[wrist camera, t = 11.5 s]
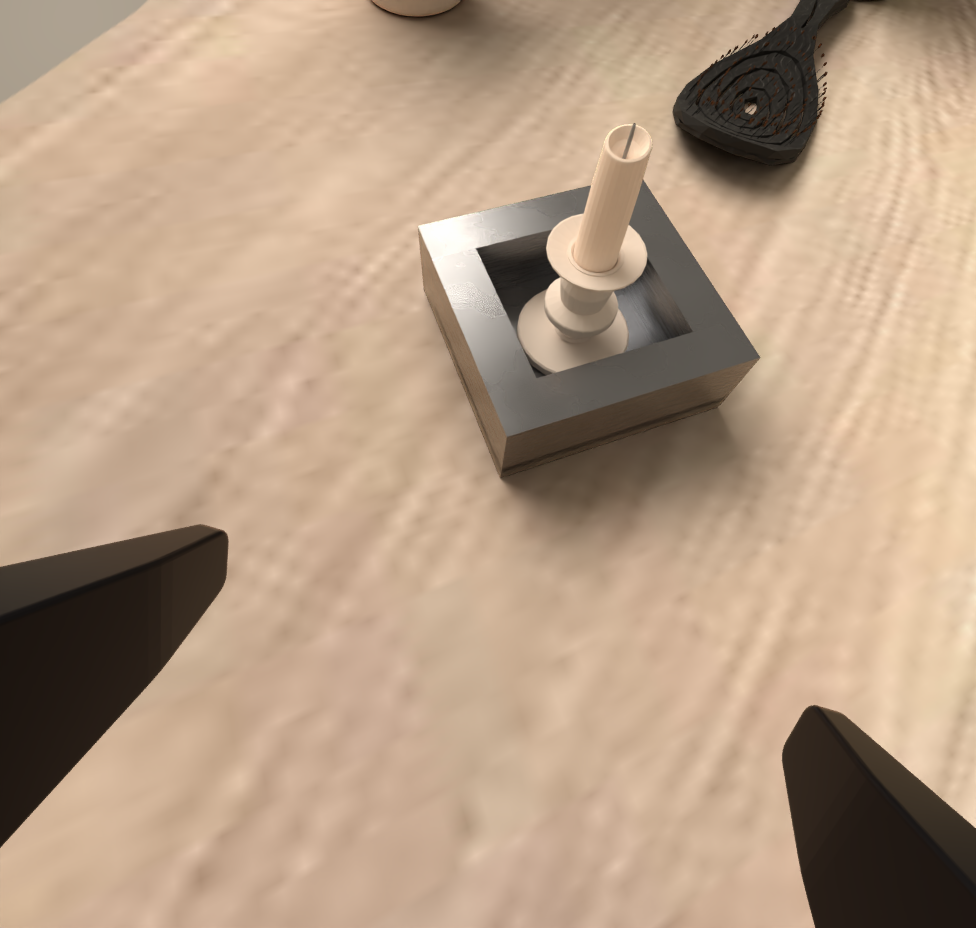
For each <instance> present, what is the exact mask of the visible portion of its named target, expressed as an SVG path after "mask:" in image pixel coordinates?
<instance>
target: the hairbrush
mask: <svg viewBox="0 0 976 928" xmlns="http://www.w3.org/2000/svg"><path fill="white" fill-rule="evenodd" d="M848 1H849V0H800V2H799V4H798V6H797V7H796V9H795V11H794V12H793V14H792V16H791V17H789V18H788V19H787V20H785V21H784V22H783V23H782V24H780V25H779V26H778V27H776V28H775V27H774V28H773V29H772V31H771V32H770V33H769V34H768V32H767V33H766V34H765V37H763V38H762V39H761V40H759V41H757V42H755V43H753V44H751V43H752V42H753V41H752V42H751V43H750V44H751V45H750V44H749V46H747V47H745V48H743V49H742V50H740V49H741V48H742V47H743V46H744V45H743V46H742V47H741V48H740V49H739V50H740V51H738V52H736V53H734V54H733V53H732V54H731V55H730V56H728V57H726V56H727V55H728V54H730V52H731V49H730V50H729V51H728V53H727V55H726V56H725V57H726V58H725V57H724V55H722V56H721V59H722V58H723V57H724V58H723V59H722V60H720V61H718V60H716V61H715V64H711V66H710V67H709V68H708V69H706V70H705V71H704V72H702V73H701V74H700V75H698V76H697V77H696V78H694V79H693V80H692V81H691V82H689V83H688V84H687V85H686V86H685V88H684V89H683V90H682V92H681V93H680V95H679V96H678V97H677V100H676V103H675V105H674V107H673V115H674V119H675V123H676V125H677V126H679V127H680V128H682V129H684V130H685V131H687V132H689V133H690V134H692V135H694V136H695V137H697V138H699V139H701V140H703V141H705V142H707V143H710V144H712V145H714V146H716V147H718V148H720V149H723V150H725V151H727V152H729V153H731V154H734V155H737V156H741V157H744V158H747V159H751V160H754V161H758V162H761V163H764V164H768V165H775V164H782V163H789V162H794V161H795V160H796V159H797V157H798V156H799V154H800V153H801V152H802V150H803V149H804V148H805V146H806V144H807V141H808V139H809V137H810V135H811V133H812V131H813V129H814V127H815V124H816V122H817V119H819V117H820V115H821V112H822V111H823V110H821V111H820V112H819V115H818V116H817V111H819V110H820V109H821V108H822V107H824V102H825V101H824V100H825V99H826V97H824V98H823V101H824V102H823V103H822V104H821V105H822V106H821V107H820V108H819V109H818V110H817V107H818V105H819V104H818V96H819V95H820V94H821V93H820V94H819V95H818V92H819V91H818V85H817V81H818V80H819V79H820V78H821V77H822V78H823V77H824V76H826V75H827V73H828V72H825V73H824V74H823V75H822V76H821V77H820V78H819V79H818V80H817V78H816V73H817V72H818V71H819V70H818V71H817V72H815V65H814V58H813V53H814V47H815V41H816V35H817V31H818V30H819V28H820V27H821V26H822V25H823V24H824V22H825V21H826V20H827V19H828V17H830V16H831V15H833V14H835V13H837V12H839V11H841V10H843V9H844V8H846V7H847V3H848ZM811 12H812V15H813V16H812V18H811V20H810V21H809V22H808V23H807V21H808V19H809V17H810V15H811ZM806 24H807V25H806ZM757 37H758V34H757V35H756V36H755V39H756V38H757ZM753 38H754V35H753V37H752V39H753ZM747 41H748V40H746V41H745V43H747ZM750 41H751V40H750ZM750 41H749V42H750ZM749 42H748V43H749ZM745 43H744V44H745ZM821 45H822V44H821V43H820V45H819V46H818V48H819V47H820V46H821ZM737 48H738V46H737V47H735V49H734V51H735V50H736V49H737ZM734 51H733V52H734ZM824 55H825V54H824V53H823V54H822V56H821V57H823V56H824ZM717 61H718V62H717ZM826 64H827V62H826V63H824V65H823V66H825V65H826ZM822 78H821V79H822ZM821 79H820V80H821ZM715 80H716V81H715ZM820 80H819V81H820ZM714 81H715V82H714ZM819 81H818V82H819ZM713 82H714V83H713ZM712 83H713V84H712ZM733 83H734V84H733ZM732 84H733V85H732ZM826 84H827V83H826V82H825V83H824V84H823V86H825V85H826ZM709 85H710V86H709ZM730 85H732V86H731V87H730V88H729V89H728V90H727V91H726V93H725V94H724V95H723V96H722V97H721V98H720V99H719V101H717V100H718V98H719V97H720V96H721V95H722V93H723V92H724V91H725V90H726V89H727V88H728V87H729V86H730ZM708 86H709V87H708ZM823 86H822V87H823ZM707 87H708V88H707ZM822 87H821V88H822ZM706 88H707V89H706ZM821 88H820V89H821ZM705 89H706V90H705ZM820 89H819V90H820ZM826 89H827V88H824V92H823V93H822V95H824V94H825V92H826ZM704 90H705V91H704ZM702 93H703V95H702V97H701V99H700V101H699V103H698V106H697V105H696V104H695V102H696V101H697V99H698V98H699V97H700V95H701V94H702ZM740 94H743V95H741V96H740V97H739V98H738V99H737V100H736V101H735V103H734V106H733V109H732V111H731V110H730V109H729V107H730V105H732V103H733V101H734V100H735V99H736V98H737V97H738V96H739V95H740ZM822 95H821V96H822ZM821 96H820V97H821ZM820 97H819V98H820ZM786 99H787V103H786ZM716 101H717V102H716ZM748 102H750V104H748V107H749V106H750V105H751V103H755V104H756V105H757V109H756V111H755V113H754V114H752V115H751V114H748V113H749V112H750V111H751V110H752V109H753V108H754V107H755V106H756V105H755V106H754V107H753V108H752V109H751V110H750V111H749V112H748V113H745V112H744V111H745V110H746V109H747V108H748V107H747V108H746V109H745V110H744V105H745V104H746V103H748ZM717 104H718V105H717ZM785 104H786V105H785ZM715 105H717V109H716V110H715V108H714V107H715ZM802 105H803V109H802ZM785 106H786V107H785ZM785 110H786V116H785V119H784V122H783V125H782V126H781V127H780V130H779V132H778V133H777V134H776V135H774V136H773V134H775V132H776V129H777V127H778V125H779V123H780V121H781V119H782V117H783V113H784V112H785ZM768 111H769V112H770V113H769V118H768V120H766V121H765V124H764V125H763V126H761V125H762V124H763V121H764V119H765V118H766V115H767V113H768ZM802 112H803V117H802V122H801V125H800V128H799V131H798V133H797V134H796V135H795V136H794V137H792V138H791V136H792V135H793V134H794V133H795V132H797V130H795V129H796V128H797V126H798V124H799V122H800V120H801V113H802ZM790 138H791V139H790Z"/></svg>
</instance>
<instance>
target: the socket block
mask: <svg viewBox="0 0 976 928" xmlns="http://www.w3.org/2000/svg"><path fill="white" fill-rule="evenodd" d="M590 188H591V186H587V187H582V188H578V189H574V190H570V191H565V192H561V193H557V194H552V195H548V196H544V197H540V198H535V199H531V200H527V201H523V202H518V203H514V204H510V205H505V206H501V207H497V208H493V209H488V210H484V211H480V212H476V213H471V214H467V215H463V216H459V217H454V218H450V219H446V220H441V221H437V222H433V223H429V224H424V225H420V226H418V232H419V243H420V254H421V265H422V275H423V286H424V291H425V293H426V296H427V298H428V300H429V303H430V305H431V308H432V310H433V313H434V315H435V318H436V320H437V323H438V325H439V328H440V330H441V333H442V335H443V338H444V340H445V343H446V345H447V348H448V350H449V352H450V355H451V357H452V360H453V362H454V365H455V367H456V370H457V372H458V375H459V377H460V380H461V382H462V385H463V387H464V390H465V392H466V395H467V397H468V400H469V402H470V404H471V407H472V409H473V412H474V414H475V417H476V419H477V422H478V424H479V427H480V429H481V432H482V434H483V437H484V439H485V442H486V444H487V447H488V449H489V452H490V454H491V456H492V459H493V461H494V464H495V466H496V469H497V471H498V474H499V476H500V478H502V477H505V476H508V475H511V474H514V473H517V472H520V471H523V470H526V469H529V468H532V467H535V466H538V465H541V464H544V463H548V462H551V461H554V460H557V459H560V458H563V457H566V456H569V455H572V454H575V453H578V452H581V451H584V450H587V449H590V448H593V447H597V446H600V445H603V444H606V443H609V442H612V441H615V440H618V439H621V438H624V437H627V436H630V435H633V434H636V433H639V432H642V431H646V430H649V429H652V428H655V427H658V426H661V425H664V424H667V423H670V422H673V421H676V420H679V419H682V418H685V417H688V416H692V415H695V414H698V413H701V412H704V411H707V410H710V409H713V408H716V407H719V405H720V404H721V403H722V402H723V401H724V400H725V398H726V397H727V396H728V395H729V394H730V393H731V391H732V390H733V389H734V388H735V387H736V386H737V384H738V383H739V382H740V381H741V380H742V379H743V377H744V376H745V375H746V374H747V373H748V372H749V370H750V369H751V368H752V367H753V366H754V365H755V363H756V362H757V361H758V360H759V359H760V356H759V355H758V353H757V352H756V350H755V349H754V347H753V346H752V344H751V343H750V341H749V340H748V338H747V336H746V335H745V333H744V332H743V330H742V329H741V327H740V326H739V324H738V323H737V321H736V320H735V318H734V317H733V315H732V314H731V312H730V311H729V309H728V308H727V306H726V305H725V303H724V302H723V300H722V299H721V297H720V296H719V294H718V293H717V291H716V290H715V288H714V286H713V285H712V283H711V282H710V280H709V279H708V277H707V276H706V274H705V273H704V271H703V270H702V268H701V267H700V265H699V264H698V262H697V261H696V259H695V258H694V256H693V255H692V253H691V252H690V250H689V249H688V247H687V246H686V244H685V243H684V241H683V239H682V238H681V236H680V235H679V233H678V232H677V230H676V229H675V227H674V226H673V224H672V223H671V221H670V220H669V218H668V217H667V215H666V214H665V212H664V211H663V209H662V208H661V206H660V205H659V203H658V202H657V200H656V199H655V197H654V196H653V194H652V193H651V191H650V189H649V188H648V186H647V185H646V183H645V182H644V180H642V184H641V187H640V191H639V194H638V197H637V200H636V203H635V206H634V210H633V213H632V216H631V219H630V222H629V226H631V227H632V228H633V229H634V230H635V231H636V232H637V233H638V234H639V235H640V237H641V239H642V240H643V242H644V244H645V247H646V251H647V263H646V266H645V268H644V270H643V273H642V275H641V276H640V277H639V278H638V279H637V280H636V281H635V282H634V283H632V284H630V285H629V286H627V287H625V288H622V289H619V290H615V291H614V293H615V295H616V297H617V301H618V309H619V310H620V311H621V313H622V315H623V316H624V318H625V320H626V322H627V326H628V331H629V341H628V347H627V349H626V351H625V352H624V353H620V354H617V355H614V356H610V357H607V358H604V359H600V360H597V361H593V362H590V363H587V364H583V365H580V366H577V367H573V368H570V369H566V370H563V371H560V372H556V373H553V374H550V375H545V374H543V373H542V372H540V371H539V370H538V369H536V368H535V367H533V366H532V365H531V364H530V363H529V361H528V359H527V357H526V355H525V353H524V351H523V348H522V346H521V344H520V342H519V340H518V338H517V332H516V331H517V325H518V320H519V315H520V313H521V311H522V309H523V307H524V306H525V304H526V303H527V302H528V301H529V300H530V299H531V298H532V297H533V296H535V295H537V294H538V293H540V292H542V291H544V290H546V289H548V288H549V286H550V285H551V284H552V283H553V282H554V281H555V280H556V279H558V278H560V276H559V275H558V274H557V272H556V271H555V270H554V269H553V268H552V266H551V264H550V262H549V260H548V257H547V251H546V246H547V241H548V237H549V235H550V233H551V231H552V230H553V228H554V227H555V226H557V225H558V224H559V223H560V222H561V221H563V220H565V219H567V218H569V217H571V216H575V215H579V214H584V211H585V207H586V203H587V200H588V196H589V192H590Z"/></svg>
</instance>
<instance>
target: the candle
mask: <svg viewBox="0 0 976 928" xmlns="http://www.w3.org/2000/svg"><path fill="white" fill-rule="evenodd" d="M652 145H653V144H652V138H651V136H650V134H649V133H648V132H647V131H646V130H645V129H644V128H642V127H640V126H637V125H636V124H635V123H634V124H633V125H632V124H626V125H621V126H618V127H616V128H614V129H613V130H611V131H610V132H609V134H608V135H607V137H606V139H605V142H604V145H603V148H602V151H601V155H600V158H599V161H598V165H597V168H596V171H595V175H594V178H593V181H592V185H591V188H590V192H589V196H588V200H587V203H586V207H585V211H584V214H579V215H575V216H571V217H569V218H567V219H565V220H563V221H561V222H560V223H559V224H558V225H557V226H555V227H554V228H553V230H552V231H551V233H550V235H549V237H548V241H547V246H546V251H547V257H548V260H549V262H550V264H551V266H552V268H553V269H554V270H555V271H556V272H557V274H558V275H559V276H560V278H558V279H556V280H555V281H554V282H553V283H552V284H551V285H550V286H549V288H548V289H546V290H544V291H542V292H540V293H538V294H537V295H535V296H533V297H532V298H531V299H530V300H529V301H528V302H527V303H526V304H525V306H524V307H523V309H522V311H521V313H520V315H519V320H518V325H517V331H516V332H517V338H518V340H519V342H520V344H521V346H522V348H523V351H524V353H525V355H526V357H527V359H528V361H529V363H530V364H531V365H532V366H533V367H535V368H536V369H538V370H539V371H540V372H542V373H543V374H545V375H550V374H553V373H556V372H560V371H563V370H566V369H570V368H573V367H577V366H580V365H583V364H587V363H590V362H593V361H597V360H600V359H604V358H607V357H610V356H614V355H617V354H620V353H624V352H625V351H626V349H627V347H628V341H629V331H628V326H627V322H626V320H625V318H624V316H623V315H622V313H621V311H620V310H619V309H618V301H617V297H616V295H615V293H614V291H615V290H619V289H622V288H625V287H627V286H629V285H630V284H632V283H634V282H635V281H636V280H637V279H638V278H639V277H640V276H641V275H642V273H643V270H644V268H645V266H646V263H647V251H646V247H645V244H644V242H643V240H642V239H641V237H640V235H639V234H638V233H637V232H636V231H635V230H634V229H633V228H632V227H631V226H629V222H630V219H631V216H632V213H633V210H634V206H635V203H636V200H637V197H638V194H639V191H640V187H641V184H642V180H643V177H644V174H645V170H646V167H647V163H648V160H649V156H650V153H651V150H652Z"/></svg>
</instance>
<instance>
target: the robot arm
mask: <svg viewBox="0 0 976 928" xmlns="http://www.w3.org/2000/svg"><path fill="white" fill-rule="evenodd" d="M227 559H228V535H227V534H226V532H225V531H223V530H220V529H217V528H213V527H210V526H207V525H201V524H199V525H194V526H189V527H185V528H180V529H175V530H171V531H166V532H161V533H157V534H152V535H147V536H143V537H138V538H133V539H129V540H124V541H119V542H114V543H110V544H105V545H100V546H96V547H91V548H86V549H82V550H77V551H72V552H68V553H63V554H58V555H54V556H49V557H44V558H40V559H35V560H30V561H26V562H21V563H16V564H12V565H7V566H2V567H0V848H1V846H2V845H3V844H4V843H5V842H6V841H7V840H8V839H9V838H10V837H11V835H12V834H13V833H14V832H15V831H16V830H17V829H18V828H19V827H20V826H21V824H22V823H23V822H24V821H25V820H26V819H27V818H28V817H29V816H30V815H31V813H32V812H33V811H34V810H35V809H36V808H37V807H38V806H39V805H40V804H41V803H42V801H43V800H44V799H45V798H46V797H47V796H48V795H49V794H50V793H51V792H52V790H53V789H54V788H55V787H56V786H57V785H58V784H59V783H60V782H61V781H62V779H63V778H64V777H65V776H66V775H67V774H68V773H69V772H70V771H71V770H72V768H73V767H74V766H75V765H76V764H77V763H78V762H79V761H80V760H81V759H82V757H83V756H84V755H85V754H86V753H87V752H88V751H89V750H90V749H91V748H92V746H93V745H94V744H95V743H96V742H97V741H98V740H99V739H100V738H101V737H102V735H103V734H104V733H105V732H106V731H107V730H108V729H109V728H110V727H111V726H112V724H113V723H114V722H115V721H116V720H117V719H118V718H119V717H120V716H121V715H122V713H123V712H124V711H125V710H126V709H127V708H128V707H129V706H130V705H131V704H132V702H133V701H134V700H135V699H136V698H137V697H138V696H139V695H140V694H141V693H142V691H143V690H144V689H145V688H146V687H147V686H148V685H149V684H150V683H151V681H152V680H153V679H154V678H155V677H156V676H157V675H158V673H159V672H160V671H161V670H162V669H163V667H164V666H165V665H166V664H167V662H168V661H169V660H170V658H171V657H172V656H173V654H174V653H175V652H176V650H177V649H178V648H179V646H180V645H181V644H182V642H183V641H184V640H185V638H186V637H187V636H188V634H189V633H190V632H191V630H192V629H193V628H194V626H195V625H196V623H197V622H198V621H199V619H200V618H201V617H202V615H203V614H204V613H205V611H206V610H207V609H208V607H209V606H210V605H211V603H212V602H213V601H214V599H215V598H216V596H217V595H218V594H219V592H220V591H221V589H222V587H223V585H224V583H225V580H226V575H227ZM782 763H783V770H784V776H785V782H786V788H787V794H788V800H789V806H790V812H791V818H792V824H793V830H794V836H795V842H796V848H797V854H798V859H799V864H800V869H801V874H802V878H803V882H804V886H805V891H806V895H807V899H808V902H809V906H810V910H811V914H812V917H813V921H814V925H815V928H976V828H975V827H974V826H972V825H971V824H970V823H969V822H968V821H967V820H965V819H964V818H963V817H962V816H961V815H960V814H958V813H957V812H956V811H955V810H954V809H953V808H952V807H950V806H949V805H948V804H947V803H946V802H945V801H943V800H942V799H941V798H940V797H939V796H938V795H936V794H935V793H934V792H933V791H932V790H931V789H930V788H928V787H927V786H926V785H925V784H924V783H923V782H921V781H920V780H919V779H918V778H917V777H916V776H914V775H913V774H912V773H911V772H910V771H909V770H908V769H906V768H905V767H904V766H903V765H902V764H901V763H899V762H898V761H897V760H896V759H895V758H894V757H892V756H891V755H890V754H889V753H888V752H887V751H886V750H884V749H883V748H882V747H881V746H880V745H879V744H877V743H876V742H875V741H874V740H873V739H872V738H870V737H869V736H868V735H867V734H866V733H865V732H863V731H862V730H861V729H860V728H859V727H858V726H857V725H855V724H854V723H853V722H852V721H851V720H850V719H848V718H847V717H846V716H845V715H843V714H842V713H840V712H837V711H834V710H830V709H827V708H823V707H820V706H817V705H813V706H809V707H808V708H806V709H805V710H804V712H803V713H802V715H801V717H800V718H799V720H798V722H797V724H796V725H795V727H794V729H793V731H792V732H791V734H790V736H789V737H788V739H787V741H786V743H785V745H784V748H783V753H782Z"/></svg>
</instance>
